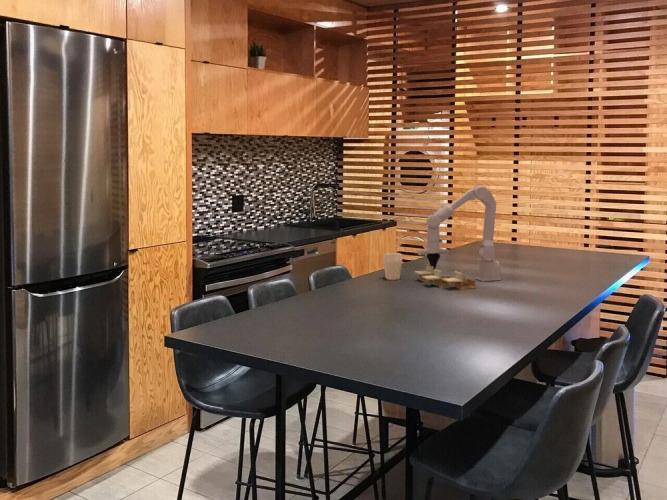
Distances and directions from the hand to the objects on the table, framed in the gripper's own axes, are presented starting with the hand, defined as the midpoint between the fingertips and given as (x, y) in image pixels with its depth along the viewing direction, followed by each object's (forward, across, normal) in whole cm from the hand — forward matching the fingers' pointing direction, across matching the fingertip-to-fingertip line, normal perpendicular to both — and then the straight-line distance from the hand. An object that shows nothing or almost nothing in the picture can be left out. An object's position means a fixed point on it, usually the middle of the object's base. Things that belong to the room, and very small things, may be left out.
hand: (433, 269), depth 315 cm
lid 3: (+1, 0, +22) cm, 22 cm away
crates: (+5, -1, +11) cm, 12 cm away
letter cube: (+5, +3, 0) cm, 6 cm away
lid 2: (+1, +6, +13) cm, 14 cm away
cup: (+5, +17, -10) cm, 20 cm away
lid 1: (+2, +5, 0) cm, 5 cm away
